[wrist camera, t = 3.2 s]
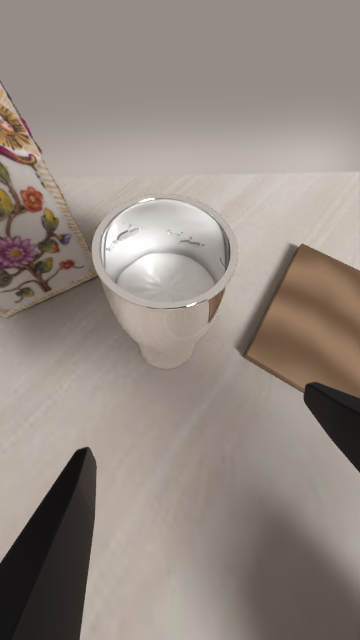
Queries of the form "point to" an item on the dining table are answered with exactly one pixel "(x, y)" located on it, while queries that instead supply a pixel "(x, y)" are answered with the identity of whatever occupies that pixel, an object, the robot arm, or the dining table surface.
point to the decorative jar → (33, 223)
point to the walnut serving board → (312, 325)
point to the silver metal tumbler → (164, 271)
